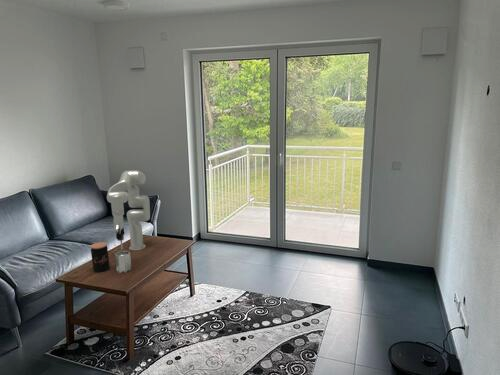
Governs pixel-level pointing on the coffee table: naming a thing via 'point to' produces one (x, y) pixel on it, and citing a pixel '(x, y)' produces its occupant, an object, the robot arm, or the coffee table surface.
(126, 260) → the press carafe
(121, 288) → the coffee table surface
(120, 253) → the plunger
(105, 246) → the coffee jar
